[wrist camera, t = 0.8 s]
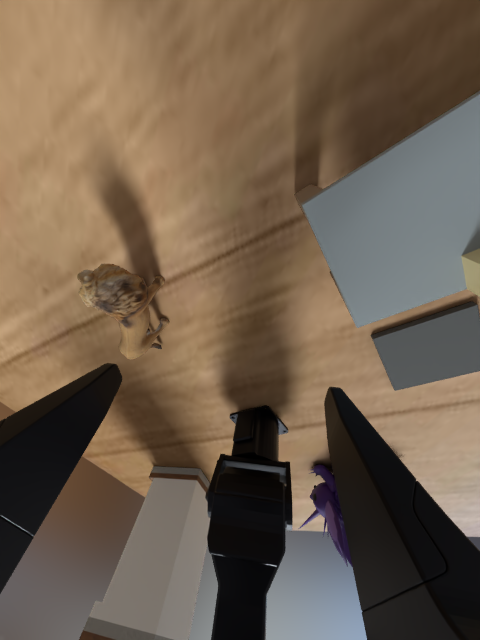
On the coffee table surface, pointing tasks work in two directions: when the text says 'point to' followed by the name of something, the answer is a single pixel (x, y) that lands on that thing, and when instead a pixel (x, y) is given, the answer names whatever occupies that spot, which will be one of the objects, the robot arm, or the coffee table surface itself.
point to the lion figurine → (123, 304)
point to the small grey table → (405, 219)
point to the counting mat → (431, 347)
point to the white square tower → (158, 564)
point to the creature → (330, 510)
